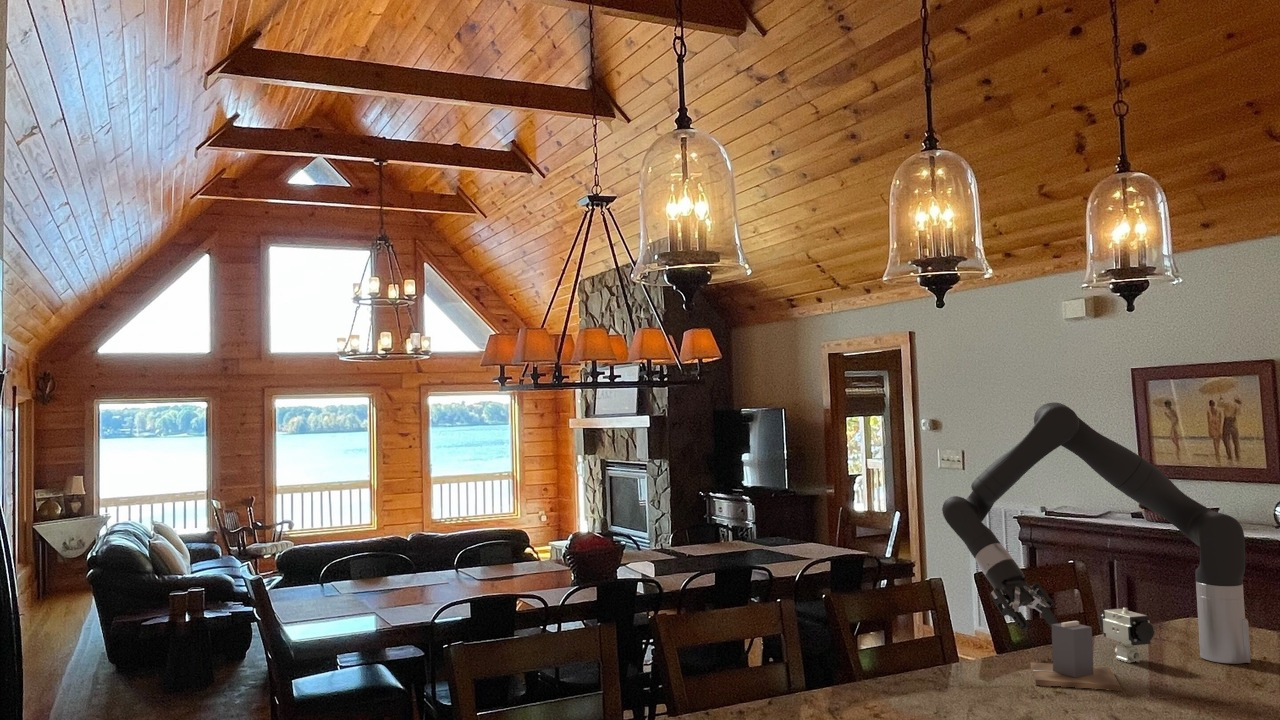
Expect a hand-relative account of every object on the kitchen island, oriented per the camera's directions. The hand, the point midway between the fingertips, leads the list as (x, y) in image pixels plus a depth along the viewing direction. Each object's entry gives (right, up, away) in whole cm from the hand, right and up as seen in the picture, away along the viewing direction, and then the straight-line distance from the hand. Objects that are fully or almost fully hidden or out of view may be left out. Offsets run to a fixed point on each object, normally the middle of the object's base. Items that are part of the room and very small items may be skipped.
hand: (1040, 626), depth 206 cm
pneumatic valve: (+22, -10, +5) cm, 24 cm away
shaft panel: (+4, -9, -8) cm, 12 cm away
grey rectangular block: (+4, -8, -8) cm, 11 cm away
